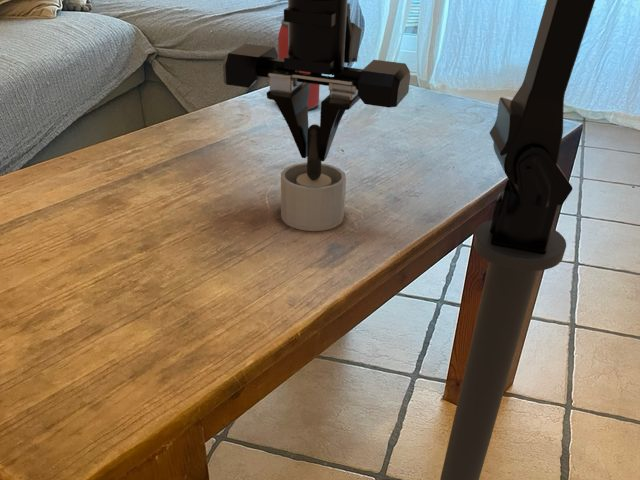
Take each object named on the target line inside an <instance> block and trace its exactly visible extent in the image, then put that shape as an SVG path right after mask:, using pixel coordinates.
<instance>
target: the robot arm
mask: <svg viewBox="0 0 640 480" xmlns="http://www.w3.org/2000/svg"><path fill="white" fill-rule="evenodd" d="M595 2H596V0H546V1H545V5H544V7H543V12H542V15H541V18H540V22H539V25H538V29H537V33H536V36H535V40H534V43H533V46H532V50H531V53H530V58H529V61H528V64H527V68H526V71H525V75H524V79H523V82H522V83H521V86H520V87H519V89H518V90H517V91H516V93H515V94H514V96H513V98H512V99H508V98H506V97H502V96H501V97H500V98H499V99H498V104H497V114H496V118H495V122H494V124H493V126H492V128H490V131H489V136H490V138H491V140H492V141H493V151H494V153H495V156H496V158H497V160H498V162H499V164H500V166H501V168H502V170H503V173H504V174H505V176H506V177H507V180H506V183H505V186H504V188H503V191H500V192H499V193H498V195H497V197H496V200H495V206H494V208H493V209H494V210H493V214H492V219H491V220H492V223H491V227H490V233H491V234H493V236H492V239H491V244H492V245H495V246H500V247H506V248H511V249H517V250H522V251H528V252H533V253H539V254H546V251H547V247H548V242H549V237H550V232H551V228H553V224H554V222H555V218H556V214H557V210H558V207H559V206H562V205H563V204H564V203H565V202H566V200H567V199H568V197H569V195H570V194H571V192H572V191H573V186H572V184H571V183H570V181H569V180H568V178H567V177H566V175H565V173H564V172H563V170H562V169H561V167H560V165H559V164H558V163H559V160H560V159H559V158H560V154H561V153H560V152H561V147H562V140H563V134H564V111H565V109H564V106H565V95H566V92H567V88H568V86H569V82H570V78H571V76H572V73H573V70H574V66H575V64H576V60H577V58H578V54H579V51H580V48H581V45H582V42H583V39H584V36H585V33H586V30H587V27H588V24H589V20H590V18H591V15H592V12H593V8H594V5H595ZM283 19H284V22H288V55H287V56H286V57H284V59H279V58H278V52H277V51H278V50H277V49H276V46H269V45H268V46H267V45H259V44H251V43H244V44H243V45H241V46H239V47H237V48H235V49H233V50H232V51H230V52H228V53H227V54H226V56H225V57H224V60H223V63H222V73H223V74H222V75H223V76H222V77H223V83H224V84H225V85H226V86H233V87H239V88H246V89H247V88H251V87H253V85H254V84H256V82H257V81H258V79H259V77H260V78H267V79H269V90H268V91H267V92H266V98H267V99H268V100H271V101H273V102H274V103H275V104H276V106H277V108H278V110H279V112H280V113H281V115H282V117H283V119H284V121H285V122H286V124H287V127H288V129H289V131H290V134H291V136H292V139H293V140H294V143H295V145H296V147H297V150H298V152H299V154H300V155H299V156H300V157H301V158H302V159H307V138H308V129H309V110H308V106H307V105H308V95H309V90H310V83H311V84H319V86H326V87H328V91H329V94H328V95H327V96H325V98H324V99H322V100H321V102H320V120H319V126H320V139H319V153H320V161H321V162H325V161H326V159H327V158H328V155H329V152H330V149H331V147H332V144H333V142H334V138H335V136H336V133H337V130H338V128H339V125H340V122H341V120H342V118H343V116H344V115H345V112H346V111H349V110H350V109H351V108H353V106H355V105H356V104H357V102H358V101H359V100H361V101H362V103H363V104H364V105H369V106H375V107H382V108H389V109H391V108H396V107H398V105H399V104H400V103H401V102H402V101H403V100H404V99H405V97H406V96H407V95H408V94H409V91H410V83H411V71H410V69H409V67H408V65H407V64H406V62H405V63H404V62H397V61H388V60H381V59H373V60H371V61H370V62H369V63H368V64H367V65H366V66H364V68H356V67H348V66H345V64H347V63H348V64H350V63H357V62H358V58H359V51H360V44H361V37H362V36H361V35H362V28H361V27H360V26H359V25H357V24H356V23H354V22H352V20H351V3H348V0H287V7H285V8H284V9H283ZM299 71H303V72H310V74H308V73H300V72H299ZM330 75H331V76H330Z"/></svg>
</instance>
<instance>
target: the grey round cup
mask: <svg viewBox="0 0 640 480" xmlns="http://www.w3.org/2000/svg"><path fill="white" fill-rule="evenodd" d="M305 173H307V162H303V163H302V162H301V163H295V164H292V165H290V166H287V167H285V168H284V169H283V170H282V171H281V172H280V217H281V221H283V223H284V224H285V225H286V226H288V227H291V228H294V229H296V230H301V231H304V232H305V231H308V232H320V231H321V232H323V231H327V230H331V229H334V228H336V227H338V226H339V225H341V224H342V223H343V221H344V216H345V205H346V189H347V188H346V186H347V176H346V172H345V171H343V170H342V169H341V168H339V167H338V166H337V167H336V166H334V165H331V164H328V163H327V164H326V163H322V162H321V174H324V175H327V176H329V177H330V178H331V185H330V186H324V187H306V186H300V185H297V184H296V179H297V177H298V176H299V175H302V174H305Z"/></svg>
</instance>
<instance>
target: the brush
mask: <svg viewBox="0 0 640 480" xmlns="http://www.w3.org/2000/svg"><path fill="white" fill-rule="evenodd" d="M308 128H309V129H308V138H307V157H306V163H307V173H305V174H302V175H299V176H298V177H297V179H296V184H297V185H300V186H306V187H324V186H330V185H331V178H330V177H329V176H327V175H324V174H321V163H322V161H320V153H319V139H320V124H315V123H314V124H310V126H308Z"/></svg>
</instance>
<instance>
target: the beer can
mask: <svg viewBox="0 0 640 480" xmlns="http://www.w3.org/2000/svg"><path fill="white" fill-rule="evenodd" d="M280 22H281V24H280V28H279V31H278V36H277V44H278V45H277V48H278V49H277V51H278V52H277V54H278V58H279V59H284V57H286V56H287V55H288V22H284V18H283V19H281V21H280ZM299 72H300V73H308V74H310V72H303V71H299ZM319 103H320V85H319V84H311V83H310V90H309V95H308V105H307V106H308V111H309V110H313V109H314V108H316V107H317V106H318V105H319Z"/></svg>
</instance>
